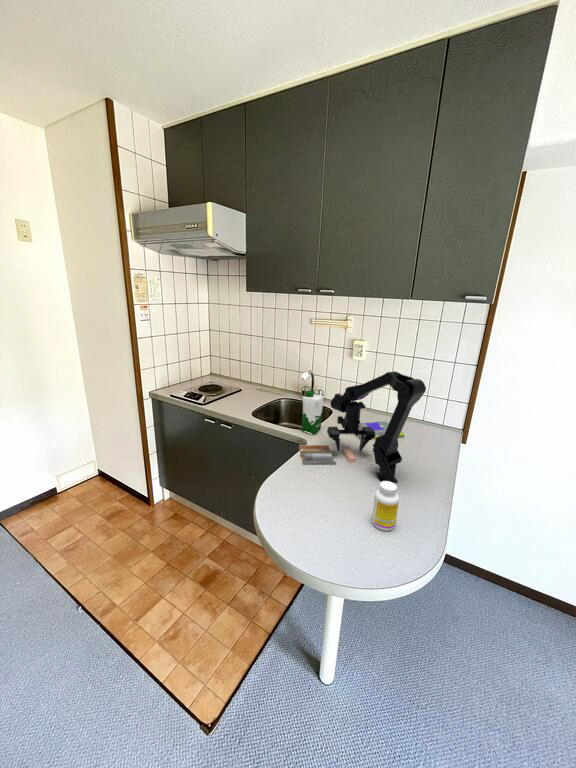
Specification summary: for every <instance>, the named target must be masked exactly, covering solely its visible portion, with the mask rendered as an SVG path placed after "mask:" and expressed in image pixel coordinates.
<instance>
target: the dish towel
mask: <svg viewBox="0 0 576 768" xmlns="http://www.w3.org/2000/svg"><path fill="white" fill-rule="evenodd" d="M381 425H383V427H380V426H381ZM388 425H389V422H388V421H374V422H360V424H359V430H362V427H371V428H372V429H373V430H374V431H375V434H376V435H375V438H372V439H376V437H379V436H382V435H384V434H385V432H386V429H387V427H388ZM357 436H358V437H359V439H358V440H360V439H361V435H357ZM357 436H356V437H357ZM404 436H405V433H404V432H402V431H401V433H400V435H399V437H398V438H400V437H402V438H403V437H404Z"/></svg>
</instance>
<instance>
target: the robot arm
mask: <svg viewBox="0 0 576 768" xmlns="http://www.w3.org/2000/svg"><path fill="white" fill-rule="evenodd" d="M387 386H390V388H392V390H393V391H395V392H397V394H396V396H397V404H396V407H395V409H394V410H393V411H394V412H392V415H391V417H390V421H389V422H388V423H389V425H388V427H387V429H386V432H385V434H384V435H382V436H379V437H376V439H375V440H374V443H373V444H372V447H373V448H372V452H373V454H374V455H373V456H374V460H375V464H376V465H378V472H377V471H375V472H374V474H375V475H376V477H377V478H378V480H379V481H380V483H381V482H382V481H389V482H392V483H394V484H395V483H398V482H399V480H398V479H397V478H396V477H395V475H396V470H397V469H396V468H397V464H401V462H402V461H403V457H402V456H401V454H400V452H399V450H398V448H399V440H398V439H399V438H400V437H399V435H400V433H401V432H402V430H403V428H404V426H405V424H406V421H407V420H408V417H409V415H410V412H411V411H412V408H413V407H414V405H415V404H417V403H418V401H420V400H421V399H422V397H423V395H424V394H425V393H426V390H427V387H426V384H425V383H424V381H423V380H422V379H419V378H414V377H411V376H409V375H404V374H402V373H400V372H398V371H394V370H393V371H388V372H387V371H386V372H385V373H384V374H382V375H380V376H378V377H375V378H373V379H371V380H369V381H367V382H365V383H362V384H358V385H352V386H347V387H346V388H345V389H344V390H345V391H344V393H343V394H341V393H335V394H334V397H333V398H332V399H331V400H330V407H331V409H333V410H335V411H338V412H339V413H345V415H344V417H343V416H341V415H340V416H339V415H338V416H337V419H336V421H337V423H336V424H338V425H341V427H342V429H339V427H338V426H328V428H326V433H327V436H328V438H330V439H332V440H333V441H334V443H335V445H336V451H337V453H339V452H340V448H341V447H340V446H341V438H340V435H355V436H356V435H361V440H360V441H359V447H358V448H359V450H358V451H359V452H360V453H361V452H362V451H363V449H364V448H365V447H366V445H367V444H368V443H369V442H370V441H372V438H375V435H376V434H375V431H374V430H373V429H372V428H371V427H362V430H359V424H360V423H361V420H360V419H361V410H362V409H365V408H366V404H364V402H363V401H360V400H363V399H364V398H366V397H367V396H369V394H370V393H372V392H374V391H378V390H380V389H382V388H384V387H387ZM358 401H359V402H358Z"/></svg>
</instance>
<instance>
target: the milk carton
mask: <svg viewBox="0 0 576 768" xmlns="http://www.w3.org/2000/svg"><path fill="white" fill-rule="evenodd" d="M304 393H305V394H304V395H303V396H302V418H301V419H302V421H301V431H307V432H310V433H312V434H315V435H317V434H318V433H319V432H320V431H321V427H322V415H323V407H324V406H323V405H324V398H325V397H324V395H320V394H316V393H314V391H313V390H305V391H304ZM319 430H320V431H319ZM318 431H319V432H318ZM317 432H318V433H317ZM316 433H317V434H316ZM312 434H311V435H312Z"/></svg>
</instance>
